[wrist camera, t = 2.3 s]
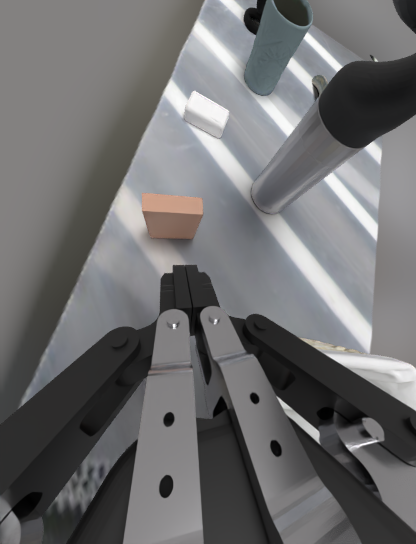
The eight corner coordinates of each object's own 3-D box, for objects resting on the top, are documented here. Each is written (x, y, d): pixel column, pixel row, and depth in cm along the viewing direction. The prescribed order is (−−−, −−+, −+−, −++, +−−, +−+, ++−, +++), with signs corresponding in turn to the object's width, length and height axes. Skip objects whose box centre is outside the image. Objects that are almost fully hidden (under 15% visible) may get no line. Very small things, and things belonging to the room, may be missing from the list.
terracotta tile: (192, 238, 32) (203, 214, 22) (150, 237, 30) (142, 210, 20) (192, 226, 32) (202, 197, 23) (150, 225, 30) (142, 192, 21)
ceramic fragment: (310, 80, 48) (322, 62, 45) (324, 85, 50) (336, 68, 46) (315, 120, 47) (327, 106, 43) (329, 124, 48) (342, 110, 44)
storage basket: (325, 337, 36) (426, 364, 22) (324, 419, 33) (439, 511, 19) (226, 324, 31) (275, 348, 17) (214, 419, 28) (260, 543, 14)
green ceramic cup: (257, 61, 44) (289, -24, 32) (282, 90, 44) (322, 17, 33) (234, 74, 41) (259, -13, 29) (261, 105, 42) (296, 32, 30)
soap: (183, 121, 36) (184, 105, 33) (191, 104, 37) (193, 87, 34) (219, 141, 37) (223, 128, 34) (226, 124, 38) (231, 110, 36)
